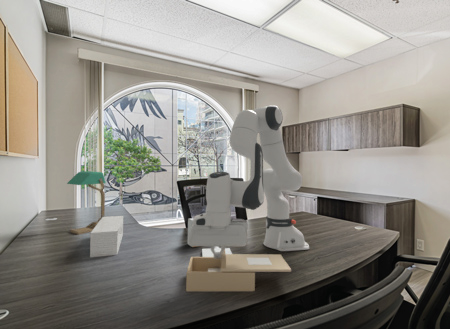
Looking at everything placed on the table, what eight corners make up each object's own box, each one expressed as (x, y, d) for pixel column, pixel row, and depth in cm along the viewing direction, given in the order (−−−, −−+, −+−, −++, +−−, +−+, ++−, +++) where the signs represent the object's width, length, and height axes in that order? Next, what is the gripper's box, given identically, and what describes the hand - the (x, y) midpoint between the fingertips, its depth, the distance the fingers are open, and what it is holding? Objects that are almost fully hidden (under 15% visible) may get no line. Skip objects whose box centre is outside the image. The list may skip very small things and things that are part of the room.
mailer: (249, 272, 90) (249, 257, 90) (254, 291, 77) (255, 272, 77) (190, 272, 89) (190, 256, 89) (186, 291, 76) (186, 272, 76)
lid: (280, 256, 90) (280, 247, 90) (291, 271, 77) (291, 261, 77) (220, 256, 90) (220, 247, 90) (221, 271, 77) (221, 261, 77)
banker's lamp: (114, 228, 148) (115, 171, 148) (78, 236, 130) (79, 172, 130) (99, 224, 156) (100, 171, 156) (64, 231, 139) (65, 171, 139)
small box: (192, 247, 116) (193, 221, 116) (187, 244, 121) (187, 218, 121) (207, 245, 120) (207, 219, 120) (201, 241, 126) (201, 216, 126)
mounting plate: (201, 250, 113) (201, 246, 113) (228, 250, 115) (228, 246, 115) (203, 267, 95) (203, 262, 95) (235, 266, 97) (235, 261, 97)
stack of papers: (117, 255, 106) (117, 230, 106) (90, 257, 102) (90, 232, 102) (123, 234, 136) (123, 215, 136) (102, 236, 132) (102, 216, 132)
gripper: (246, 216, 87) (246, 254, 87) (190, 216, 86) (189, 254, 86) (249, 221, 80) (248, 261, 80) (188, 220, 80) (187, 261, 80)
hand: (217, 258), depth 83 cm, fingers closed
